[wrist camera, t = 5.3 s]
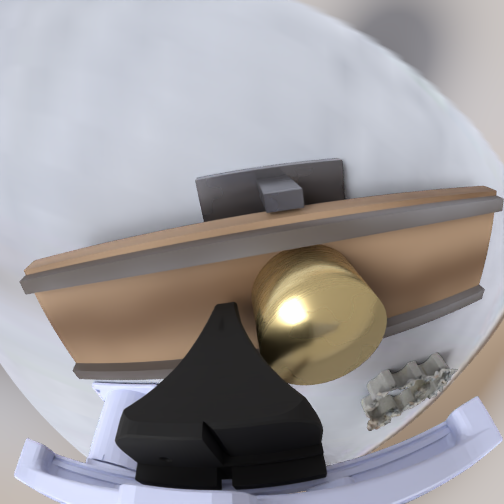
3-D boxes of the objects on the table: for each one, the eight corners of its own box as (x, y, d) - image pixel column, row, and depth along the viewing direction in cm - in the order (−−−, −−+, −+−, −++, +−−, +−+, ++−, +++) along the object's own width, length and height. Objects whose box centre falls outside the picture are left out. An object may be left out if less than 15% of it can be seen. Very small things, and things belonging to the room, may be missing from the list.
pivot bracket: (339, 311, 19) (360, 353, 15) (232, 330, 19) (233, 376, 15) (336, 158, 14) (371, 169, 10) (197, 177, 15) (182, 196, 11)
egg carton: (354, 406, 26) (363, 434, 23) (371, 367, 23) (385, 399, 19) (424, 385, 27) (437, 408, 23) (447, 346, 23) (464, 369, 20)
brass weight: (356, 314, 13) (384, 360, 10) (266, 343, 14) (277, 397, 11) (347, 229, 11) (387, 267, 8) (237, 263, 12) (241, 314, 8)
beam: (466, 288, 16) (480, 302, 14) (89, 361, 15) (81, 381, 13) (484, 185, 12) (504, 194, 10) (34, 260, 12) (17, 276, 10)
